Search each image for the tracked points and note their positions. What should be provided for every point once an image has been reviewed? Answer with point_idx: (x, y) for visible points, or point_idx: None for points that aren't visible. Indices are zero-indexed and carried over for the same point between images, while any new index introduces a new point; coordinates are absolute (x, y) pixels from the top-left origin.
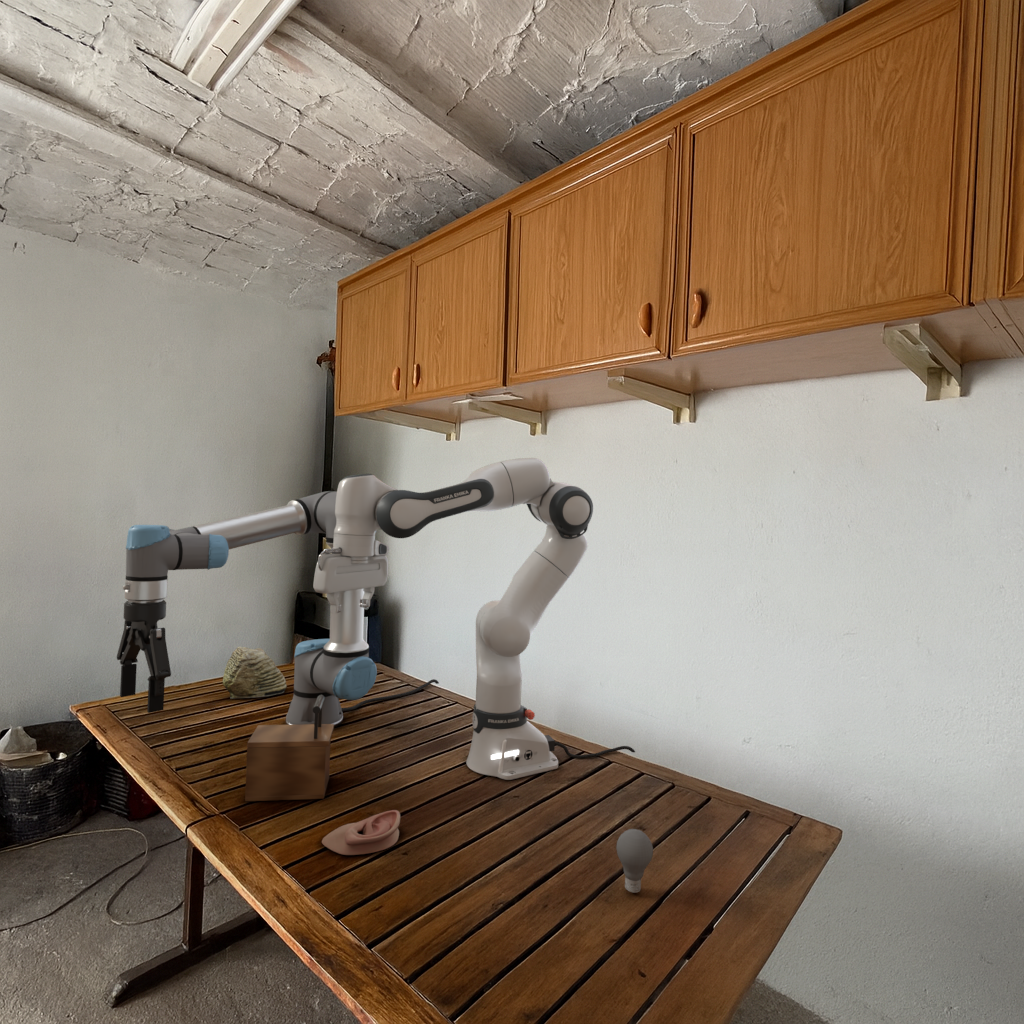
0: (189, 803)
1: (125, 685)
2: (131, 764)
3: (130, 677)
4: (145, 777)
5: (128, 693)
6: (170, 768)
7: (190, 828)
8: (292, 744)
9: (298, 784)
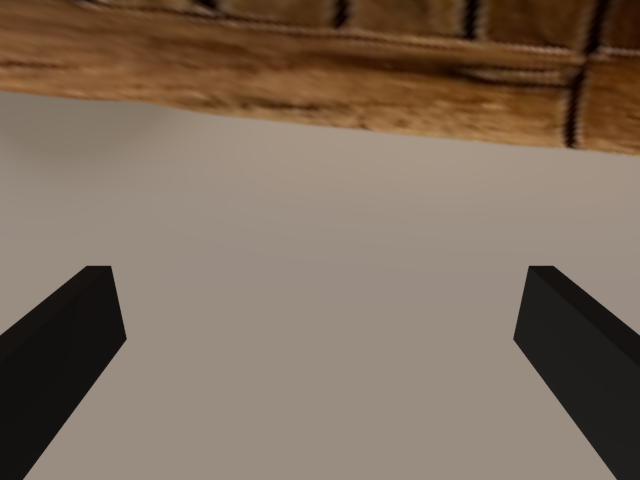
0: (464, 89)
1: (84, 370)
2: (79, 97)
3: (39, 382)
4: (207, 106)
5: (112, 313)
6: (185, 17)
7: (586, 150)
8: None
9: None
